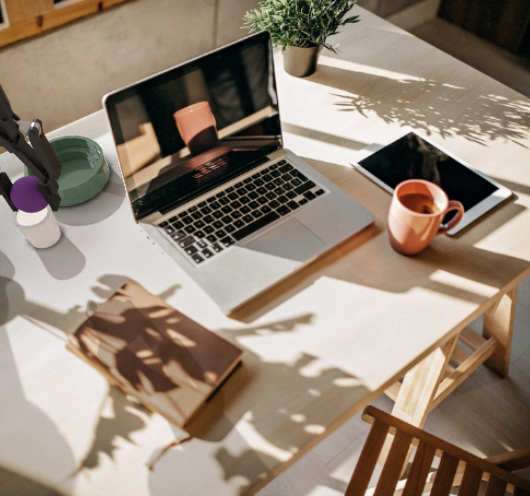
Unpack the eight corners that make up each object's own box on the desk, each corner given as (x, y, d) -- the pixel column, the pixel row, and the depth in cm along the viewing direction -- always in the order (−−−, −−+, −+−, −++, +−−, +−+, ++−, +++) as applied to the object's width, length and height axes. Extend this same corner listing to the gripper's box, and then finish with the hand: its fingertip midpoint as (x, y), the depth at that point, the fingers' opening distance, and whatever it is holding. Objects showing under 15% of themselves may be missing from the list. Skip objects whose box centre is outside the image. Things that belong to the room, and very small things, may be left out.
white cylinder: (55, 253, 92) (41, 230, 86) (21, 249, 93) (4, 226, 87) (70, 225, 96) (57, 201, 90) (36, 221, 97) (22, 197, 91)
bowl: (25, 209, 99) (14, 191, 94) (43, 154, 108) (34, 136, 104) (103, 207, 99) (95, 189, 94) (115, 152, 108) (108, 134, 104)
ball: (15, 220, 81) (-3, 196, 76) (25, 193, 84) (9, 168, 79) (51, 220, 81) (36, 195, 76) (60, 193, 84) (46, 167, 79)
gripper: (-119, 106, 61) (-27, 223, 80) (32, 105, 61) (89, 222, 80) (-93, 70, 66) (-12, 189, 85) (48, 69, 66) (98, 188, 84)
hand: (37, 205), depth 82 cm, fingers closed on ball, 6 cm apart
